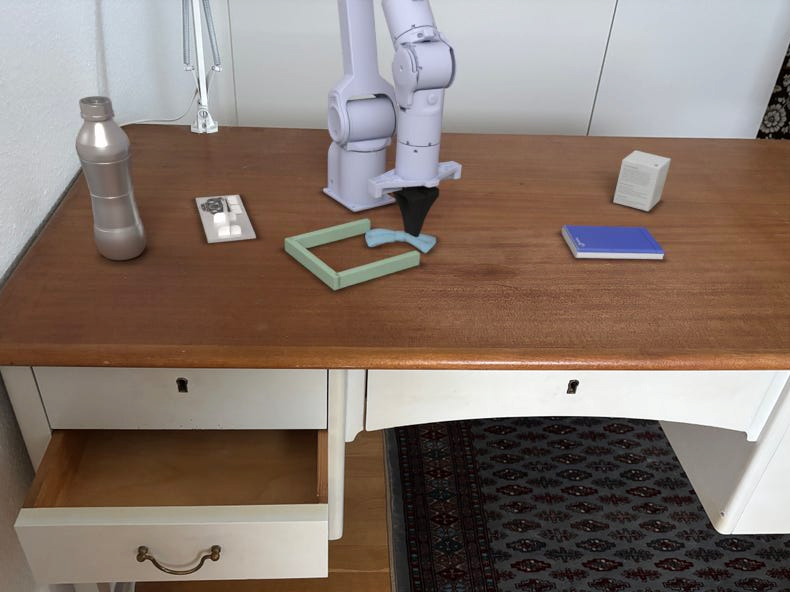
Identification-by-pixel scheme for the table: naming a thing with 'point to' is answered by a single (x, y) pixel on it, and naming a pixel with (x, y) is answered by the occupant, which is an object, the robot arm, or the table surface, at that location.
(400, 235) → the bow tie
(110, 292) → the table surface
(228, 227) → the grey board with parts
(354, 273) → the bay
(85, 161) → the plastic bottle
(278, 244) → the table surface
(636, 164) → the product box
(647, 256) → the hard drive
